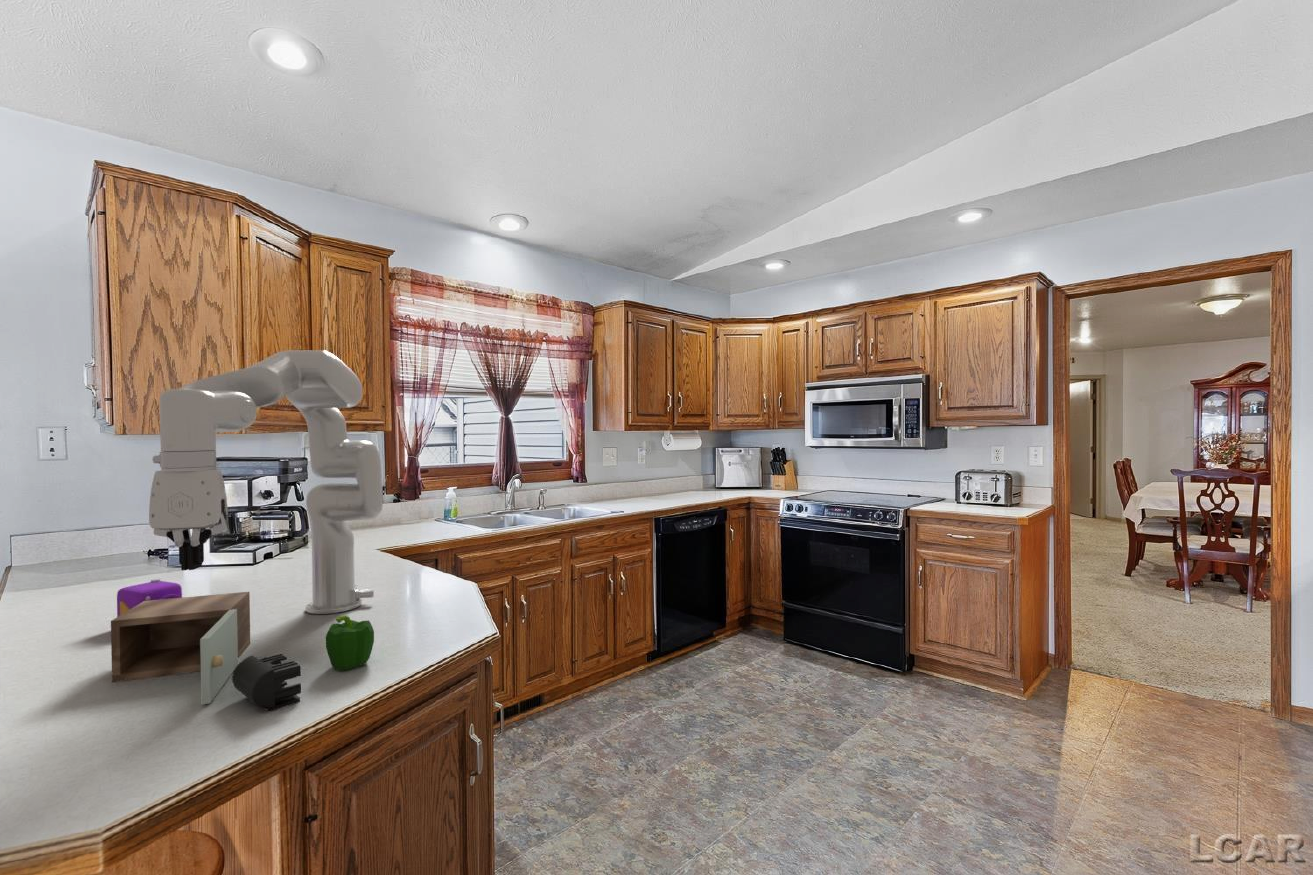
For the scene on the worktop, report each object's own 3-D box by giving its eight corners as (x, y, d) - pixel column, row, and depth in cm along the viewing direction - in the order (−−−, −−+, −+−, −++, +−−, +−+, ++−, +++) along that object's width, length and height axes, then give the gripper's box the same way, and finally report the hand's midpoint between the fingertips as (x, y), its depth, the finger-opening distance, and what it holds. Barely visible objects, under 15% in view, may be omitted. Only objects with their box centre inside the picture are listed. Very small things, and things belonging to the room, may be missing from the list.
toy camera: (156, 635, 135) (155, 590, 135) (106, 631, 137) (105, 587, 137) (201, 620, 145) (200, 578, 145) (154, 617, 148) (154, 576, 148)
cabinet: (250, 643, 128) (249, 591, 128) (230, 666, 115) (229, 609, 115) (145, 655, 122) (144, 600, 122) (111, 682, 109) (110, 620, 109)
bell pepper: (361, 654, 121) (360, 604, 121) (381, 664, 116) (380, 612, 116) (316, 667, 115) (315, 614, 115) (335, 678, 110) (335, 623, 110)
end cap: (232, 701, 101) (231, 660, 101) (279, 687, 106) (279, 648, 106) (252, 718, 94) (252, 675, 94) (302, 702, 100) (301, 661, 100)
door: (230, 665, 115) (229, 609, 115) (245, 663, 116) (244, 608, 116) (201, 704, 99) (200, 639, 98) (219, 701, 99) (218, 637, 99)
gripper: (124, 463, 99) (127, 576, 99) (226, 462, 102) (229, 571, 102) (153, 461, 106) (156, 565, 107) (248, 459, 109) (250, 561, 109)
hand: (191, 568), depth 104 cm, fingers closed
